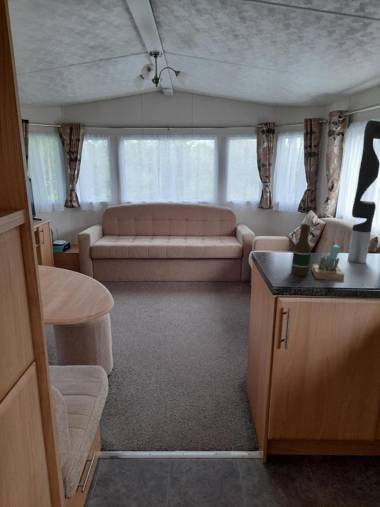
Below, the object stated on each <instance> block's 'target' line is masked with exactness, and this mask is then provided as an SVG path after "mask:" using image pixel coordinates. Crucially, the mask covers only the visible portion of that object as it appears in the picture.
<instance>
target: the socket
mask: <svg viewBox="0 0 380 507" xmlns="http://www.w3.org/2000/svg"><path fill="white" fill-rule="evenodd" d="M329 255H330V254H329ZM329 255H327V256H326V255H322V256H321V257H320V260H319V264H317V263H316V264H315V263H312V265H311V266H312V268H311V271H312V274H313V276H314V278H315V279H319V280H329V281H338V282H344V279H345V274H344V272H343V271H342V270H341V268H340V267H339V266H338V265H339V262H340V257H337V258H336V260H335V262H334V265H333V267H332V269H331V266H332V263H333V260H332V259H331V260H330V263H329V267H328V270H327V269H326V268H325V266H326V263H327V260H328V257H329Z"/></svg>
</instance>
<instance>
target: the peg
mask: <svg viewBox="0 0 380 507" xmlns="http://www.w3.org/2000/svg"><path fill="white" fill-rule="evenodd" d="M340 250H341V247H340V246H339V245H338V244H334V245H332V247H331V249H330V253H329V257H328V260H327V263H326V266H325V268H326V269H327V270H328V267H329V263H330V260H331V259H332V260H333V263H332V266H331V269H332V267H333V266H334V263H335V260H336V259H337V258H338V255H339V253H340Z"/></svg>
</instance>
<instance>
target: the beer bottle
mask: <svg viewBox="0 0 380 507" xmlns="http://www.w3.org/2000/svg"><path fill="white" fill-rule="evenodd" d="M309 228H310V224H307V223H302V224H300V232H299V238H298V240H297V241H296V243H295V245H294V247H293V252H292V262H291V274H293V275H294V276H298V277H306V276H308V274H309V271H310V270H309V269H310V260H311V253H312V248H311V245H310V243H309Z"/></svg>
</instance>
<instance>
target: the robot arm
mask: <svg viewBox="0 0 380 507" xmlns="http://www.w3.org/2000/svg"><path fill="white" fill-rule="evenodd" d="M374 139H375V140H380V119H369V120H368V121H367V122H366V124H365V127H364V132H363V144H362V145H363V147H362V154H361V159H360V163H359V170H358V178H357V186H356V191H355V196H354V200H353V203H352V208H351V209H352V211H351V217H352V218H354V219H355V218H356V219H365V221H362V222H360V223H356V224H353V225H352V229H351V236H350V242H349V247H348V254H347V255H348V256H347V262H351V263H355V264H365V263H366V262H367V257H368V251H369V246H370V238H371V234H372V228H373V227H372V226H373V221H374V217H375V212H376V207H377V206H376V203H375V202H374V201H369V200H368V201H367V200H362V199H363V198H362V197H363V195H364V194H365V193H366V192H367V190H368V189H369V188H370V187H371V186H372V185H373V183H374V182H375V181H376V180H377V178H378V176H379V173H380V172H379V171H380V159H379V158H378V155H377V153H376V151H375V149H374V148H375V147H374Z"/></svg>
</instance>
